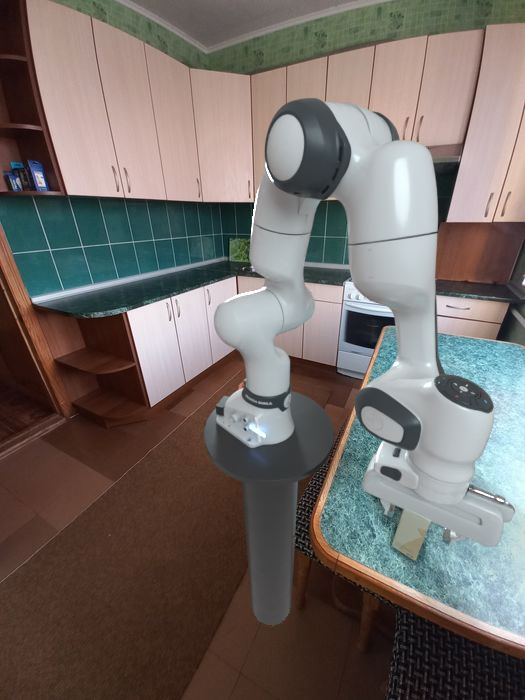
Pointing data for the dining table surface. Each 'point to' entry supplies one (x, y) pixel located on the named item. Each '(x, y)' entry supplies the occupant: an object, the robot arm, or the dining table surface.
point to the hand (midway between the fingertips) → (416, 526)
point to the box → (411, 533)
